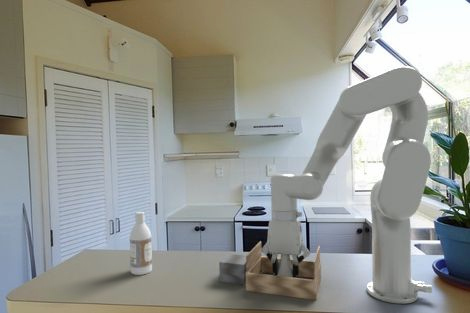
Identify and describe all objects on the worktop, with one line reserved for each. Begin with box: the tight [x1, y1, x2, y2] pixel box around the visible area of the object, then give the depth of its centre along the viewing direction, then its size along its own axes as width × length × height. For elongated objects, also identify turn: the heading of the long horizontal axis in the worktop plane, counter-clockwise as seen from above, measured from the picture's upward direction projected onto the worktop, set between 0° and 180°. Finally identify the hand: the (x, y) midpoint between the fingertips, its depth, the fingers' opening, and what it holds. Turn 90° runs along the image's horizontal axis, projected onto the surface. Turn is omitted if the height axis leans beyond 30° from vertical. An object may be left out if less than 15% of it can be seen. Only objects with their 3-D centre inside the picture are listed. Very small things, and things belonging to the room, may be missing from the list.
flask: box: [277, 254, 293, 277], centre depth 96 cm, size 7×7×10 cm
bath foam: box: [129, 211, 153, 276], centre depth 109 cm, size 7×7×20 cm
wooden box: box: [245, 240, 322, 301], centre depth 96 cm, size 20×16×10 cm
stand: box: [218, 253, 246, 286], centre depth 102 cm, size 8×8×6 cm
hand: (285, 275), depth 96 cm, fingers closed on flask, 4 cm apart
